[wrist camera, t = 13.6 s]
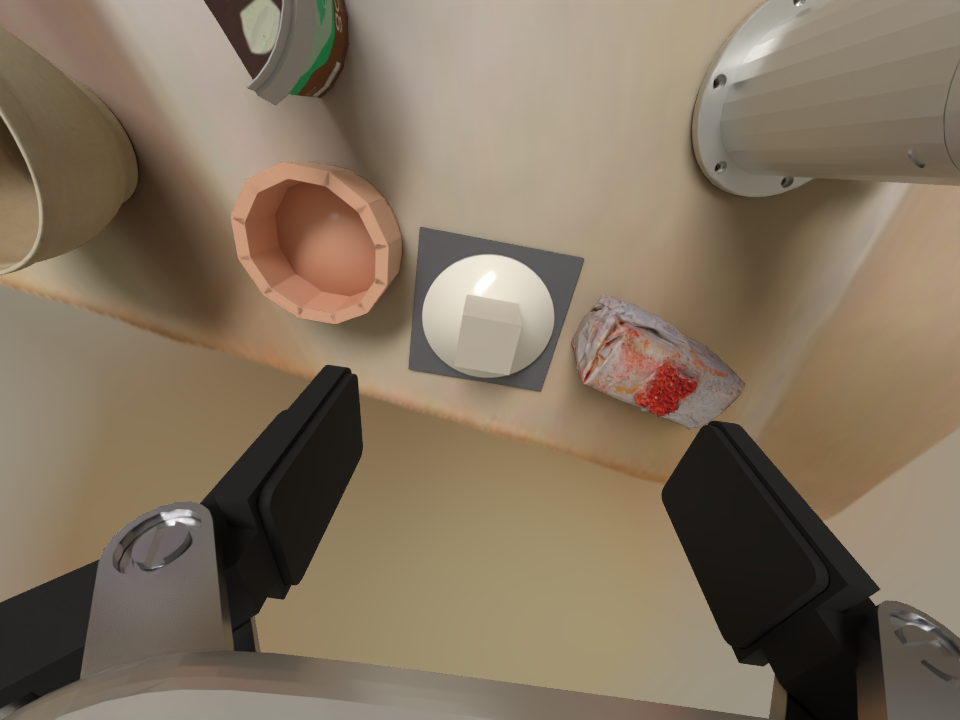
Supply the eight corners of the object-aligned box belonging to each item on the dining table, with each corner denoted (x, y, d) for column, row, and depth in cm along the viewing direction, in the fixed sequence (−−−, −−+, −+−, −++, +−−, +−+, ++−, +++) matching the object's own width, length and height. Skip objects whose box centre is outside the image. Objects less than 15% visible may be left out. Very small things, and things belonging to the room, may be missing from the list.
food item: (555, 347, 36) (574, 405, 28) (596, 280, 32) (633, 322, 24) (662, 390, 38) (709, 456, 30) (712, 332, 35) (783, 388, 26)
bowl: (406, 180, 29) (390, 183, 24) (398, 311, 35) (385, 332, 30) (260, 150, 28) (217, 149, 24) (278, 290, 34) (247, 308, 30)
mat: (583, 258, 31) (584, 259, 31) (540, 389, 39) (540, 391, 38) (420, 226, 30) (419, 227, 30) (409, 367, 38) (408, 369, 38)
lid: (570, 268, 31) (584, 288, 26) (534, 382, 38) (540, 416, 33) (430, 241, 31) (417, 256, 26) (418, 362, 37) (406, 394, 32)
